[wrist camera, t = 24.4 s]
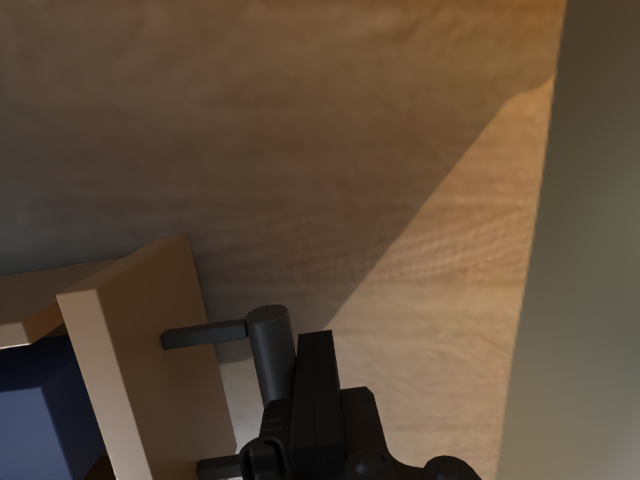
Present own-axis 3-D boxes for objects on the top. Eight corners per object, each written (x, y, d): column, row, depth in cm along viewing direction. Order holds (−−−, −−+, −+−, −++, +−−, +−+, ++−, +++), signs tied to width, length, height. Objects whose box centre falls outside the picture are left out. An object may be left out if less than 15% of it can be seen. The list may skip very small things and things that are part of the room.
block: (132, 410, 19) (76, 489, 14) (43, 422, 19) (-40, 505, 14) (108, 328, 18) (40, 386, 13) (15, 341, 18) (-84, 403, 13)
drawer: (284, 217, 18) (264, 263, 10) (321, 433, 21) (327, 595, 13) (-123, 278, 18) (-434, 367, 11) (-33, 484, 21) (-229, 671, 13)
